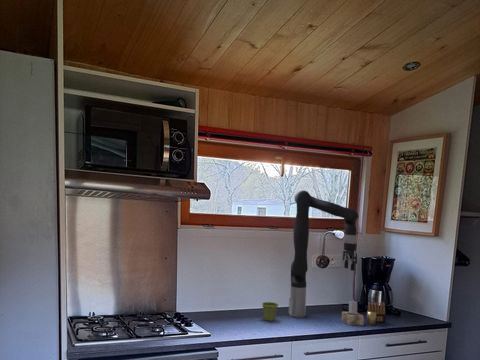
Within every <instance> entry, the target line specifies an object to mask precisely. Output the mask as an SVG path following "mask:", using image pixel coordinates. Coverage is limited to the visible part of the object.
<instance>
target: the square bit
mask: <svg viewBox="0 0 480 360" xmlns="http://www.w3.org/2000/svg"><path fill="white" fill-rule="evenodd" d="M348 312H349V315H357V313H358V301H355V300H349V301H348Z"/></svg>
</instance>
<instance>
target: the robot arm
mask: <svg viewBox="0 0 480 360" xmlns="http://www.w3.org/2000/svg"><path fill="white" fill-rule="evenodd" d="M294 202H295V203H296V204H295V205H296V216H295V219H294V223H293V234H292V235H293V236H292V237H293V246H294V247H293V248H294V257H293V261H292V262H291V264H290V297H289V299H288V300H289V302H288V314H289V315H290V317H292V318H293V317H294V318H304V317H306V306H307V305H306V304H307V303H306V301H307V278H306V277H307V272H308V269H309V268H308V267H309V265H308V247H309V234H310V220H309V219H310V215H309V214H310V208H314V209H316V210H319V211H321V212H324V213H327V214H329V215H332V216H335V217H339V218H341V219H342V218H343V223H344V224H343V225H344V234H343V235H344V236H343V252H342V261H343V262H344V266H343V267H344V269H349V262H350V271H355V269H356V267H355V266H356V264H358V254H357V253H356V251H357V245H358V242H357V241H358V239H357V226H356V221H357V220H358V219H359V213H358V211H357V210H355V209H352V208H348V207H345V206H342V205H339V204H338V203H334V202H330V201H327V200H323V199H319V198H316V197H315V196H312V195H311V194H310V193H309V192H308V191H306V190H299V191H297V192H296V193H295V195H294Z"/></svg>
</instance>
